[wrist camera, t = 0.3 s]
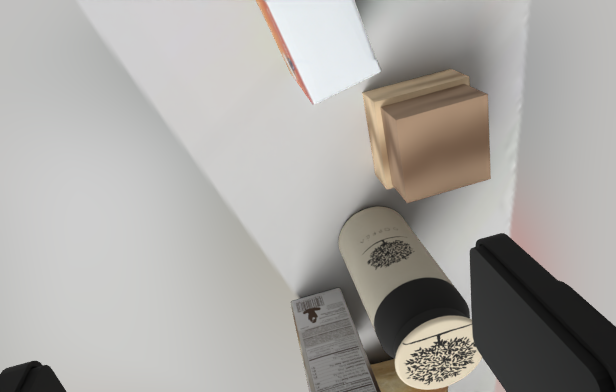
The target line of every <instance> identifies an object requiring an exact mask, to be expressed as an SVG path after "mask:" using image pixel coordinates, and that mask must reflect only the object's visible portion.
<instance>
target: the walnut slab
mask: <svg viewBox="0 0 616 392" xmlns="http://www.w3.org/2000/svg"><path fill="white" fill-rule="evenodd" d="M380 109H381V115H382V122H383V128H384V135H385V142H386V148H387V155H388V161H389V168H390V174H391V181H392V185H393V186H394V188H395V189H396V190H397V191H398V193H399V194H400V195H401V196H402V197H403V199H404V200H405V201H406V202H407V203H410V202H413V201H417V200H420V199H423V198H427V197H430V196H434V195H437V194H440V193H444V192H447V191H451V190H454V189H457V188H461V187H464V186H468V185H471V184H474V183H478V182H481V181H485V180H488V179H491V177H490V148H489V118H488V94H486V93H484V92H482V91H479V90H477V89H475V88H473V87H471V86H468V85H466V84H461V85H458V86H454V87H451V88H447V89H443V90H440V91H436V92H433V93H429V94H426V95H422V96H418V97H415V98H411V99H408V100H404V101H401V102H397V103H393V104H390V105H386V106H383V107H380Z"/></svg>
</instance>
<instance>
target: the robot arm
mask: <svg viewBox="0 0 616 392" xmlns="http://www.w3.org/2000/svg"><path fill="white" fill-rule="evenodd" d="M470 276H471V306H472V334H473V340H474V343H475V346H476V348H477V350H478V351H479V353H480V354H481V356H482V357H483V359H484V360H485V362H486V363H487V365H488V366H489V367H490V369H491V370H492V372H493V373H494V375H495V376H496V377H497V379H498V380H499V382H500V383H501V385H502V386H503V387H504V389H505V390H506V392H616V327H615V326H614V325H613V324H612V323H611V322H610V321H608V320H607V319H606V318H605V317H604V316H603V315H602V314H600V313H599V312H598V311H597V310H596V309H595V308H594V307H593V306H591V305H590V304H589V303H588V302H587V301H586V300H584V299H583V298H582V297H581V296H580V295H579V294H578V293H577V292H575V291H574V290H573V289H572V288H571V287H570V286H568V285H567V284H565V283H564V282H561V281H558V280H557V279H555V278H554V277H553V276H552V275H551V274H550V273H549V272H548V271H547V270H545V269H544V268H543V267H542V266H541V265H540V264H539V263H538V262H536V261H535V260H534V259H533V258H532V257H531V256H530V255H529V254H527V253H526V252H525V251H524V250H523V249H522V248H521V247H520V246H519V245H517V244H516V243H515V242H514V241H513V240H512V239H511V238H510V237H509V236H507V235H506V234H504V233H500V234H497V235H493V236H489V237H486V238H482V239H479V240H477V242H476V247H474V248H471V250H470ZM0 392H66V390H65V389H64V387H63V386H62V384H61V383H60V381H59V380H58V378H57V377H56V375H55V373H54V372H53V370H52V369H51V368H50V367H49V366H48V365H44V366H43V365H42V364H41V363H40V362H38V361H31V362H27V363H24V364H20V365H16V366H13V367H9V368H6V369H5V370H3V371H2V373H1V374H0Z"/></svg>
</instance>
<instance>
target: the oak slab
mask: <svg viewBox="0 0 616 392" xmlns="http://www.w3.org/2000/svg"><path fill="white" fill-rule="evenodd" d="M461 84H466V85H468V86H470V81H469V76H467V75H464V74H462V73H460V72H457V71H455V70H452V69H448V70H445V71H441V72H437V73H433V74H430V75H426V76H422V77H418V78H415V79H411V80H407V81H403V82H400V83H396V84H392V85H389V86H385V87H381V88H377V89H374V90H370V91H366V92H362V93H363V99H364V106H365V112H366V118H367V124H368V131H369V137H370V143H371V150H372V156H373V162H374V168H375V175H376V176H377V177H378V179H379V180H380V181H381V183H382V184H383V185H384V187H385V188H386V189H387V190H388V189H392V188H394V186H393V185H392V181H391V174H390V168H389V161H388V155H387V148H386V142H385V135H384V128H383V122H382V115H381V109H380V107H383V106H386V105H390V104H393V103H397V102H401V101H404V100H408V99H411V98H415V97H418V96H422V95H426V94H429V93H433V92H436V91H440V90H443V89H447V88H451V87H454V86H458V85H461Z"/></svg>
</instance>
